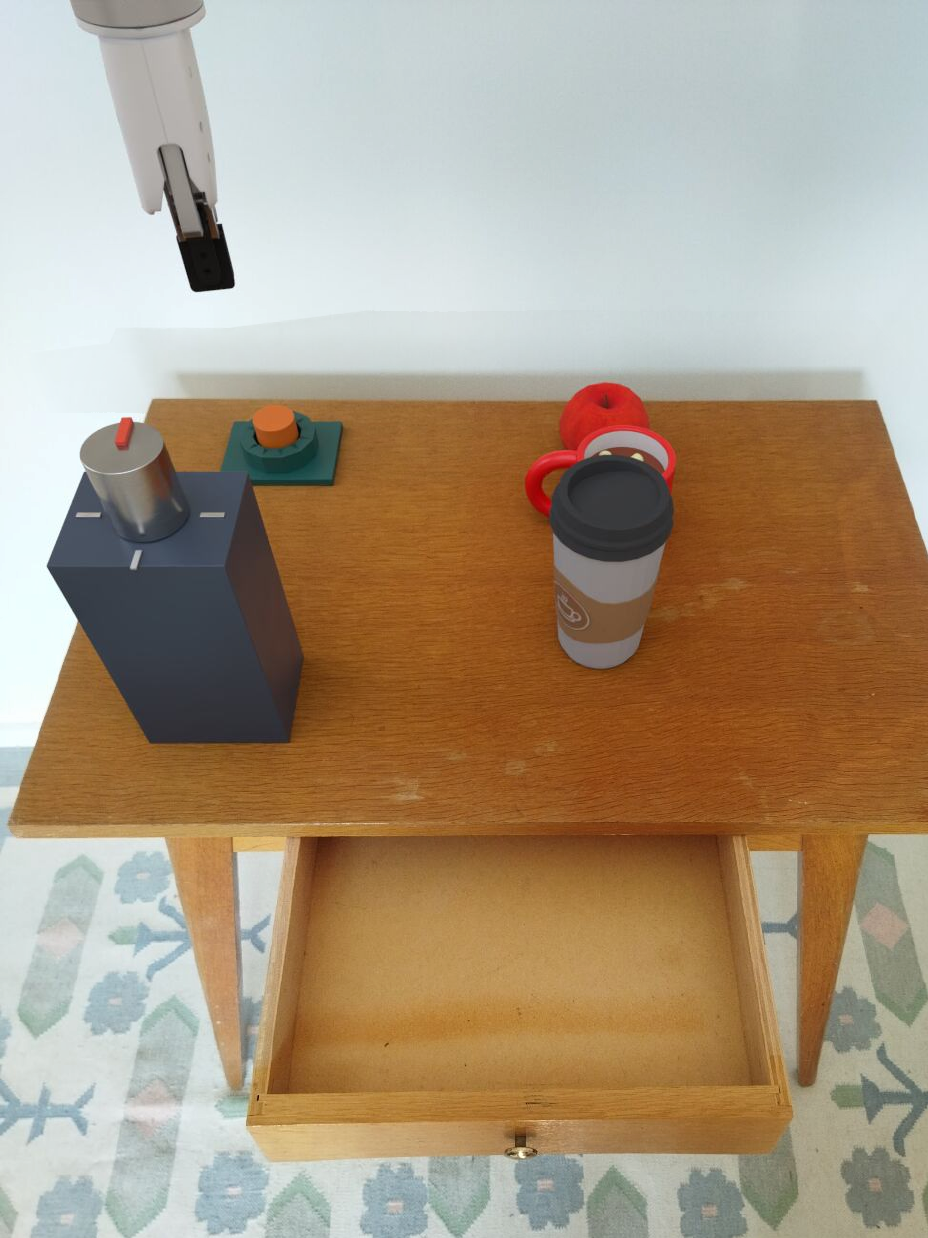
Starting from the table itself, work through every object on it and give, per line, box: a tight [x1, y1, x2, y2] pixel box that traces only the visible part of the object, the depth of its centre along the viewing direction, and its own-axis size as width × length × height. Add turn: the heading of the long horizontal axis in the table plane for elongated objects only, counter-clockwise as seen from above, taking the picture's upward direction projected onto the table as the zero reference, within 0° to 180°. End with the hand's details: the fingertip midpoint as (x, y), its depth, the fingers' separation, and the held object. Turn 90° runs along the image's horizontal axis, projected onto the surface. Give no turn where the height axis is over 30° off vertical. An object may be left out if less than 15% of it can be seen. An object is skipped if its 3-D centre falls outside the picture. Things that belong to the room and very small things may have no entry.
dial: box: [79, 416, 189, 542], centre depth 53 cm, size 4×4×5 cm
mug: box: [524, 425, 677, 518], centre depth 78 cm, size 8×12×8 cm, turn 85°
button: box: [252, 404, 299, 448], centre depth 83 cm, size 4×4×2 cm
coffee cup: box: [548, 455, 675, 670], centre depth 68 cm, size 8×8×15 cm
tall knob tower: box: [46, 471, 305, 744], centre depth 63 cm, size 10×9×18 cm
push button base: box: [219, 410, 344, 486], centre depth 85 cm, size 10×8×2 cm
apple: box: [558, 381, 651, 451], centre depth 83 cm, size 8×8×7 cm
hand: (213, 284), depth 70 cm, fingers closed
